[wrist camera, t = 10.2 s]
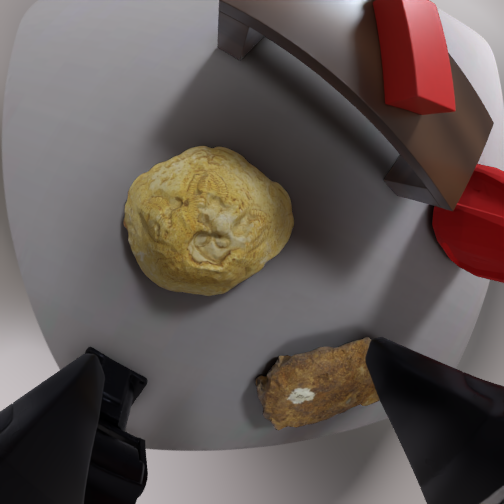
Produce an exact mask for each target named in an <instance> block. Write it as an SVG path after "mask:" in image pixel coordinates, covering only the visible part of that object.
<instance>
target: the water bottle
mask: <svg viewBox="0 0 504 504" xmlns="http://www.w3.org/2000/svg"><path fill="white" fill-rule="evenodd" d="M432 226H433V229H434V232H435V235H436V239H437V241H438V243H439V244H440V245H441V247H442V248H443V250H444V251H445V253H446V255H447V256H448V257H449V258H450V259H451V261H453V262H454V263H455V264H456V265H457V266H459V267H460V268H462V269H464V270H466V271H468V272H470V273H471V274H473V275H475V276H478V277H482V278H486V279H490V280H494V281H499V282H503V283H504V171H502V170H500V169H497V168H494V167H490V166H485V165H480V164H477V165H476V167H475V170H474V172H473V174H472V176H471V178H470V180H469V182H468V184H467V186H466V188H465V190H464V192H463V194H462V196H461V198H460V199H459V201H458V203H457V205H456V207H455V208H454V210H453V211H450V210H446V209H443V208H440V207H436V206H434V210H433V222H432Z"/></svg>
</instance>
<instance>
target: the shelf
mask: <svg viewBox="0 0 504 504" xmlns="http://www.w3.org/2000/svg"><path fill="white" fill-rule="evenodd" d="M374 1H375V0H219V17H218V48H220V49H222V50H223V51H225V52H227V53H228V54H230V55H232V56H233V57H235V58H237V59H238V60H241V59H242V58H243V57H244V56H245V55H246V54H247V53H248V52H249V51H250V50H251V49H252V48H253V47H254V46H255V45H256V44H257V43H258V42H259V41H260V40H261V39H262V38H263V37H264V36H265V37H267V38H268V39H270V40H271V41H273V42H274V43H276V44H277V45H279V46H280V47H282V48H283V49H285V50H286V51H288V52H289V53H290V54H292V55H293V56H295V57H296V58H297V59H299V60H300V61H301V62H303V63H304V64H305V65H307V66H308V67H309V68H311V69H312V70H313V71H314V72H316V73H317V74H318V75H319V76H321V77H322V78H323V79H324V80H326V81H327V82H328V83H329V84H330V85H331V86H333V87H334V88H335V89H336V90H337V91H338V92H340V93H341V94H342V95H343V96H344V97H345V98H346V99H347V100H348V101H350V102H351V103H352V104H353V105H354V106H355V107H356V108H357V109H358V110H359V111H360V112H361V113H362V114H363V115H364V116H365V117H366V118H367V119H368V120H369V121H370V122H371V123H372V124H373V125H374V126H375V127H376V128H377V129H378V130H379V131H380V132H381V133H382V134H383V135H384V136H385V137H386V139H387V140H388V141H389V142H390V143H391V144H392V145H393V146H394V147H395V149H396V150H397V151H398V152H399V153H400V156H399V158H398V159H397V161H396V162H395V164H394V165H393V167H392V168H391V170H390V171H389V173H388V174H387V176H386V177H385V179H384V181H385V182H386V183H387V185H388V186H389V187H390V188H391V189H392V190H393V191H394V192H395V194H396V195H397V196H401V197H404V198H408V199H412V200H416V201H419V202H423V203H426V204H430V205H433V206H436V207H440V208H443V209H446V210H450V211H453V210H454V208H455V207H456V205H457V203H458V201H459V199H460V198H461V196H462V194H463V192H464V190H465V188H466V186H467V184H468V182H469V180H470V178H471V176H472V174H473V172H474V170H475V167H476V165H477V163H478V161H479V159H480V156H481V154H482V152H483V149H484V147H485V145H486V142H487V140H488V137H489V134H490V132H491V129H492V127H493V124H494V123H493V121H492V119H491V117H490V115H489V113H488V112H487V110H486V108H485V106H484V105H483V103H482V101H481V99H480V98H479V96H478V94H477V93H476V91H475V90H474V88H473V87H472V85H471V83H470V82H469V80H468V79H467V78H466V76H465V75H464V73H463V72H462V70H461V69H460V68H459V66H458V65H457V63H456V62H455V61H454V59H453V58H452V57H451V56H450V54H449V53H448V55H449V60H450V66H451V72H452V79H453V87H454V96H455V108H456V111H455V112H446V113H436V114H427V115H421V114H418V113H415V112H411V111H408V110H405V109H401V108H398V107H394V106H391V105H387V104H385V94H384V79H383V68H382V58H381V50H380V42H379V35H378V29H377V23H376V17H375V12H374V7H373V2H374Z"/></svg>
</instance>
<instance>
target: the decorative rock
mask: <svg viewBox="0 0 504 504" xmlns="http://www.w3.org/2000/svg"><path fill="white" fill-rule="evenodd" d="M370 341H371V339H370V338H369V337H365V338H364V339H362V340H356V341H353V342H350V343H347V344H344V345H342V346H340V347H337V348H332V347H319V348H317V349H315V350H313V351H310V352H306V353H301V354H294V355H293V356H288V355H286V356H279V357H278V360H277V361H276V363H275V364H274V365H273V366H272V368H271V370H269V371H268V373H267V376H266V377H264V376H262V375H261V376H259V377H258V378H257V379H256V386H257V394H258V398H259V400H260V401H261V403H262V406H263V416H264V417H265V418H266V419H268V420H270V421H271V423H272V424H273V426H274V427H275V429H276V430H280V429H282V428H284V427H287V426H289V427H296V428H297V427H300V426H304V425H306V424H308V425H309V424H313V423H317V422H319V421H322V420H327V419H329V418H331V417H332V416H334V415H336V414H339V413H343V412H345V411H346V410H348V409H350V408H352V407H355V406H357V405H360V404H361V405H362V406H367V405H370V404H372V403H375V402H377V401H379V400H380V399H379V397H378V395H377V392H376V390H375V387H374V384H373V381H372V379H371V376H370V373H369V371H368V368H367V366H366V362H365V357H366V354H367V350H368V347H369V343H370Z"/></svg>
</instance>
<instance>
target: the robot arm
mask: <svg viewBox="0 0 504 504" xmlns="http://www.w3.org/2000/svg"><path fill="white" fill-rule="evenodd" d="M365 362H366V366H367V368H368V371H369V373H370V376H371V379H372V381H373V384H374V387H375V390H376V392H377V395H378V397H379V399H380V402H381V404H382V406H383V408H384V410H385V412H386V414H387V416H388V418H389V420H390V422H391V424H392V426H393V428H394V430H395V432H396V434H397V436H398V439H399V441H400V443H401V445H402V447H403V449H404V451H405V454H406V456H407V458H408V460H409V462H410V464H411V467H412V469H413V471H414V474H415V476H416V478H417V480H418V483H419V485H420V487H421V490H422V492H423V495H424V497H425V500H426V502H427V504H504V386H501V385H497V384H494V383H491V382H488V381H485V380H482V379H479V378H476V377H474V376H472V375H469V374H467V373H463V372H462V371H460V370H457V369H455V368H452V367H450V366H448V365H445V364H443V363H441V362H438V361H436V360H434V359H431V358H429V357H427V356H424V355H422V354H420V353H417V352H415V351H413V350H411V349H408V348H406V347H404V346H401V345H399V344H397V343H395V342H392V341H390V340H388V339H386V338H383V337H379V338H374V339H372V340H371V341H370V343H369V347H368V350H367V354H366V357H365ZM146 384H147V379H146V378H145V377H143V376H141V375H139V374H138V373H136V372H134V371H132V370H130V369H128V368H126V367H124V366H123V365H121V364H119V363H117V362H116V361H114V360H112V359H110V358H109V357H107V356H105V355H104V354H102V353H100V352H99V351H97V350H95V349H94V348H92V347H88V349H87V350H86V352H85V354H83V355H82V356H80V357H79V358H77V359H76V360H75V361H73V362H72V363H70V364H69V365H67V366H66V367H64V368H63V369H61V370H60V371H58V372H57V373H56V374H54V375H53V376H51V377H50V378H48V379H47V380H45V381H44V382H42V383H41V384H40V385H38V386H37V387H35V388H34V389H32V390H31V391H29V392H28V393H27V394H25V395H24V396H22V397H21V398H20V399H18V400H16V401H15V402H14V403H13V404H11V405H9V406H8V407H6V408H5V409H3V410H2V411H0V504H135V503H136V500H137V498H138V497H139V496H140V495H141V494H142V492H143V490H144V488H145V486H146V482H147V475H148V472H147V461H146V450H145V440H143V439H141V438H137V437H135V436H133V435H131V434H129V433H127V432H125V429H126V425H127V421H128V416H129V412H130V408H131V405H132V404H133V403H134V401H135V400H136V398H137V397H138V396H139V394H140V393H141V392H142V390H143V389H144V387H145V386H146Z"/></svg>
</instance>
